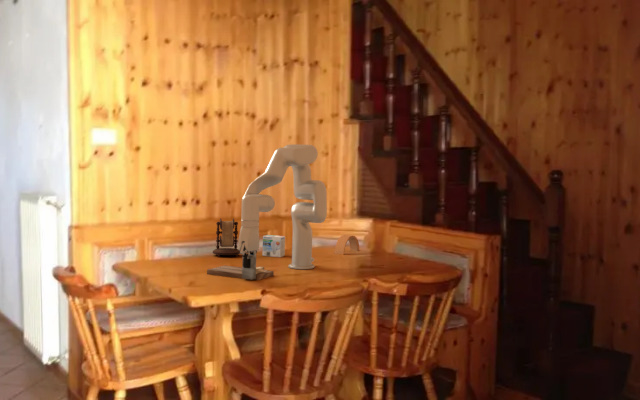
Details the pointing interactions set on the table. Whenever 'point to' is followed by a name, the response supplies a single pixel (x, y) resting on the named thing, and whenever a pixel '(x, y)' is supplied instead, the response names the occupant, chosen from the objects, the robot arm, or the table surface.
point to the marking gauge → (251, 269)
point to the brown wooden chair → (226, 238)
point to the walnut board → (236, 272)
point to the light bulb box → (273, 246)
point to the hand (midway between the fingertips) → (249, 266)
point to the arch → (342, 243)
